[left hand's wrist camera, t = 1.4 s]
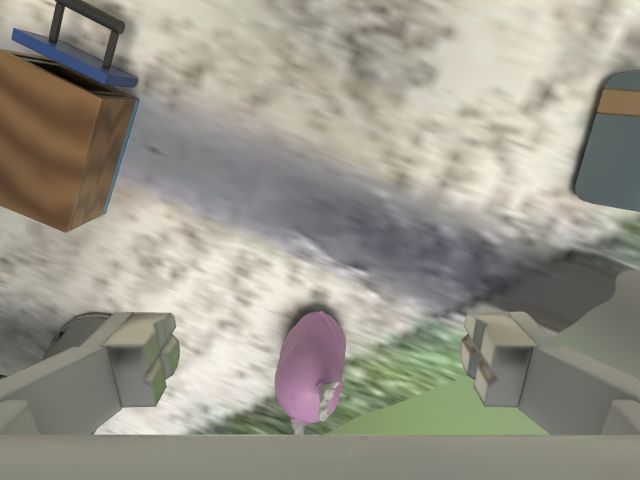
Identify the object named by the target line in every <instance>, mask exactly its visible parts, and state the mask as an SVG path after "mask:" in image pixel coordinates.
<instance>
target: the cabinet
mask: <svg viewBox="0 0 640 480" xmlns="http://www.w3.org/2000/svg"><path fill="white" fill-rule="evenodd" d="M19 57H21V58H19ZM22 58H27V59H33V60H39V61H45V62H51V63H57V64H60V65H62V66H64V67H66V68H68V69H70V70H72V71H74V72H76V73H78V74H80V75H82V76H85V77H87V78H89V79H91V80H93V81H95V82H97V83H99V84H101V85H103V86H105V87H107V88H109V89H111V90H113V91H115V92H118V93H120V94H122V95H123V97H118V96H101V95H97V94H95V93H92V92H90V91H88V90H86V89H84V88H82V87H80V86H78V85H76V84H74V83H72V82H69V81H67V80H65V79H63V78H61V77H59V76H57V75H55V74H53V73H51V72H49V71H47V70H44V69H42V68H40V67H38V66H36V65H34V64H32V63H30V62H28V61H26V60H24V59H22ZM139 101H140V100H138V99H135V98H133V97H131V96H129V95H127V94H125V93H123V92H121V91H119V90H117V89H115V88H113V87H111V86H109V85H105V84H102V83H100V82H98V81H96V80H94V79H92V78H90V77H88V76H86V75H84V74H81V73H79V72H77V71H75V70H73V69H71V68H69V67H67V66H65V65H63V64H61V63H59V62H57V61H55V60H53V59H51V58H46V57H41V56H36V55H30V54H25V53H19V52H14V51H8V50H3V49H0V206H3V207H5V208H8V209H10V210H12V211H15V212H17V213H20V214H22V215H24V216H27V217H29V218H32V219H34V220H36V221H39V222H41V223H44V224H46V225H49V226H51V227H53V228H56V229H58V230H61V231H63V232H65V233H66V232H68V231H70V230H73V229H75V228H77V227H79V226H81V225H83V224H85V223H87V222H89V221H91V220H93V219H95V218H97V217H99V216H101V215H104V214H106V211H107V207H108V204H109V201H110V197H111V194H112V191H113V187H114V184H115V181H116V177H117V174H118V171H119V167H120V164H121V161H122V157H123V154H124V151H125V147H126V144H127V141H128V137H129V134H130V131H131V127H132V124H133V121H134V117H135V114H136V111H137V107H138V104H139Z"/></svg>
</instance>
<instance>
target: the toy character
mask: <svg viewBox="0 0 640 480" xmlns="http://www.w3.org/2000/svg"><path fill="white" fill-rule="evenodd" d="M345 349H346V339H345V335H344V333H343V332H342V330H341V329H340V327H339V325H338V323H337V322H336V321H335V320H334V319H333V318H332V317H331V316H330V315H328V314H325V313H324V312H323V311H319V312H312V313H309V314H307V315H304V316H303V317H302V318H301V319H300V320H299V322H298V323H297V324H296V325H295V326H294V327H293V328H292V329H291V330H290V331H289V333H288V335H287V337H286V338H285V340H284V343H283V345H282V349H281V352H280V359H279V362H278V366H277V370H276V374H275V392H276V396H277V399H278V402H279V404H280V406H281V407H282V408H283V409H284V411H285V412H286V413H287V414H288V415H290V417H291V423H292V426H293V429H294V431H295V433H294V435H303V433H304V426H306V422H308V423H315V422H318V421H325V420H326V419H327V418H328V416H329V415H331V414H332V412H333V411H334V409H335V407H336V405H337V403H338V400H339V397H340V393H341V388H342V374H343V365H344V363H345V362H344V358H345Z"/></svg>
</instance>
